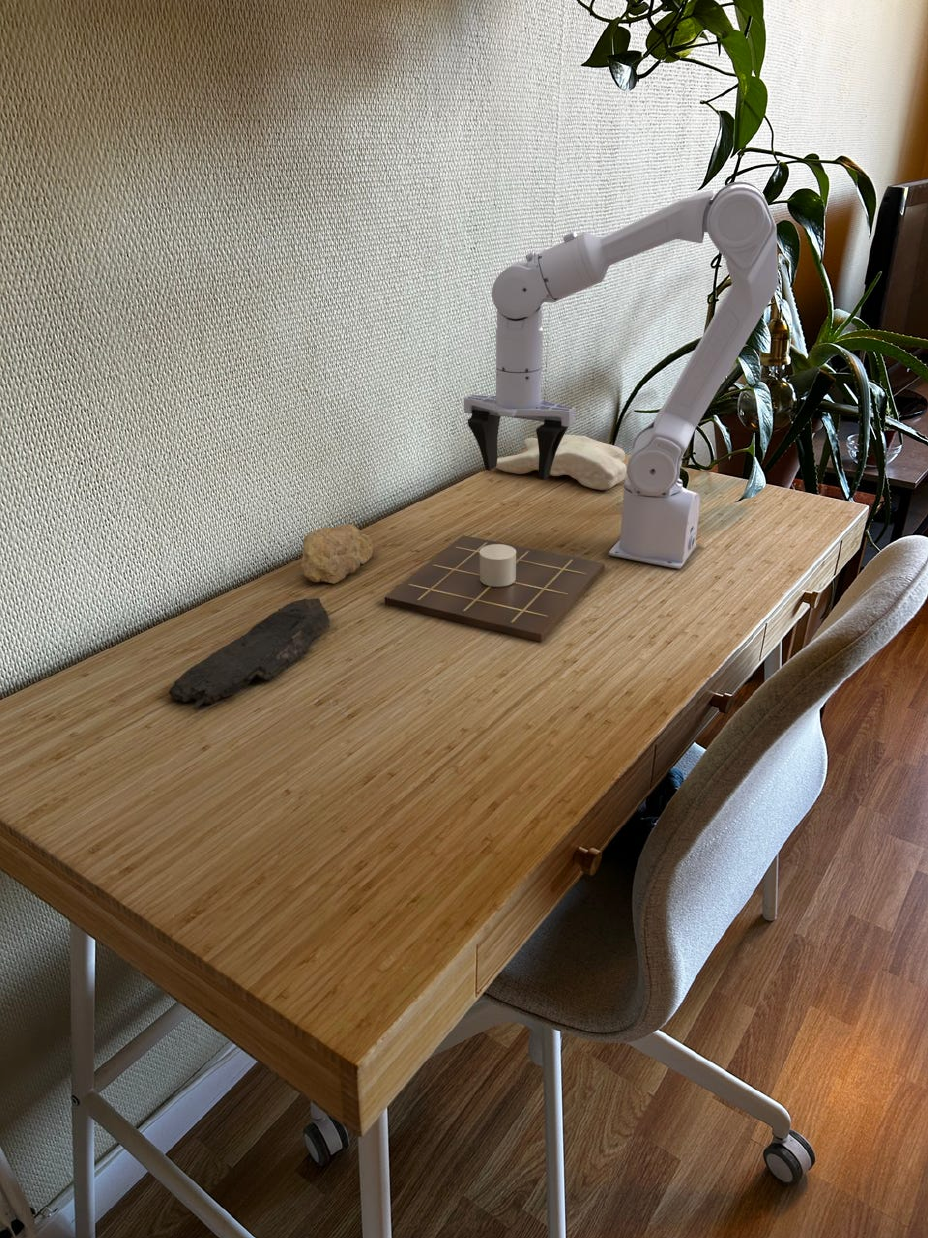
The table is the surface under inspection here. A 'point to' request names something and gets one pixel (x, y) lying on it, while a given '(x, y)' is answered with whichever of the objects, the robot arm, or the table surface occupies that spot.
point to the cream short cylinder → (497, 565)
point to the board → (497, 589)
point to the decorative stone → (573, 461)
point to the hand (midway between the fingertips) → (517, 472)
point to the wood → (254, 654)
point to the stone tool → (334, 553)
